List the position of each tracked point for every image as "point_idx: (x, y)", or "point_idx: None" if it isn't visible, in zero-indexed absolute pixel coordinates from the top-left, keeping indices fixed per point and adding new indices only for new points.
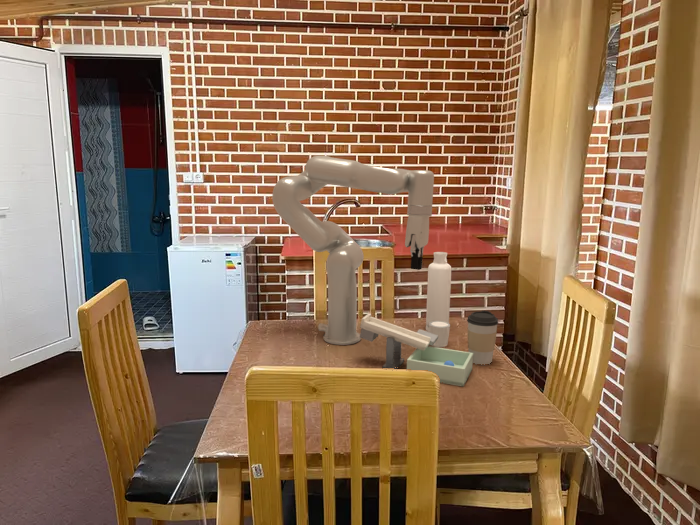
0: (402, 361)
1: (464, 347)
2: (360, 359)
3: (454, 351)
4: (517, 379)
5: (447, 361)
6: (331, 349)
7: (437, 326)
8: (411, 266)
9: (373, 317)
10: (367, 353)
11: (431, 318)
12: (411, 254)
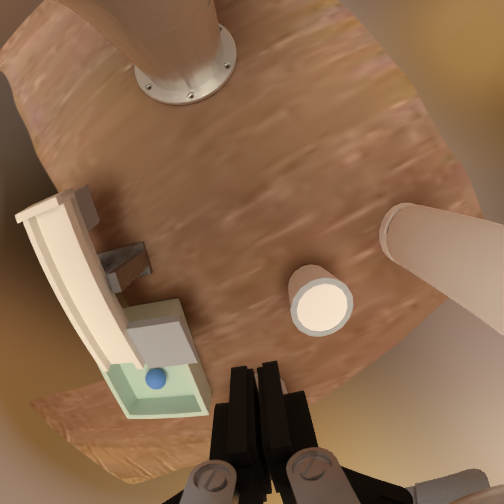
0: (139, 275)
1: (321, 340)
2: (98, 184)
3: (191, 387)
4: None
5: (149, 383)
6: (110, 91)
7: (296, 314)
8: (232, 381)
9: (65, 213)
10: (136, 172)
11: (397, 237)
12: (187, 485)
